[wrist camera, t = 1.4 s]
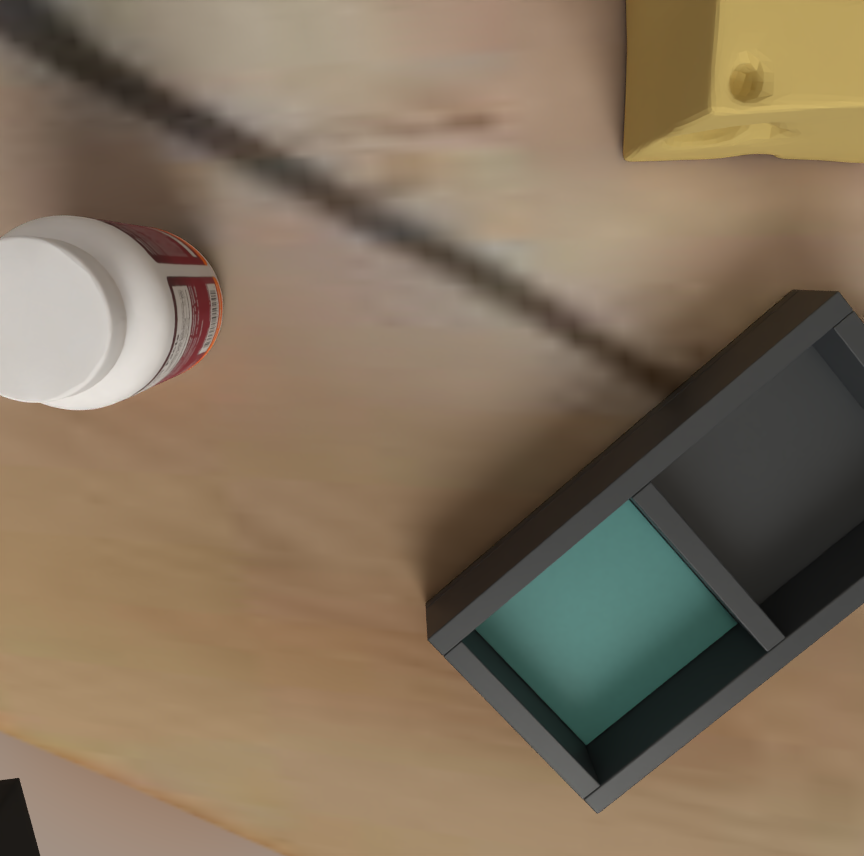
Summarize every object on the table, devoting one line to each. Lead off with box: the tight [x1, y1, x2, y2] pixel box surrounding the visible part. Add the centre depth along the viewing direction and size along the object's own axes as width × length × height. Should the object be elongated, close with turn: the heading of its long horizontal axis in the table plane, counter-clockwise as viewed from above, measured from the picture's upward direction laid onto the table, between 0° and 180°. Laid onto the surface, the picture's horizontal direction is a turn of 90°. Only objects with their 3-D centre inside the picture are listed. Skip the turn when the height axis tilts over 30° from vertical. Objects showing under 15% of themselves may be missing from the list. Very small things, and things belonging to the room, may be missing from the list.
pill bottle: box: [0, 215, 223, 410], centre depth 27 cm, size 6×6×11 cm
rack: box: [426, 290, 864, 813], centre depth 33 cm, size 11×21×4 cm, turn 132°
